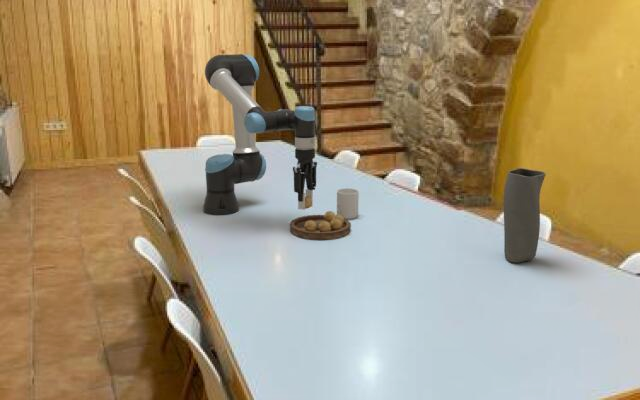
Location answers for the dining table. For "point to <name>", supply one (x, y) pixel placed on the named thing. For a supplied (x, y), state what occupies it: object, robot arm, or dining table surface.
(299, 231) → the tray
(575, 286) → the dining table surface
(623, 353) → the dining table surface
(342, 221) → the seated beads
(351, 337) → the dining table surface
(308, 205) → the bead
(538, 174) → the vase
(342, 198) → the mug
